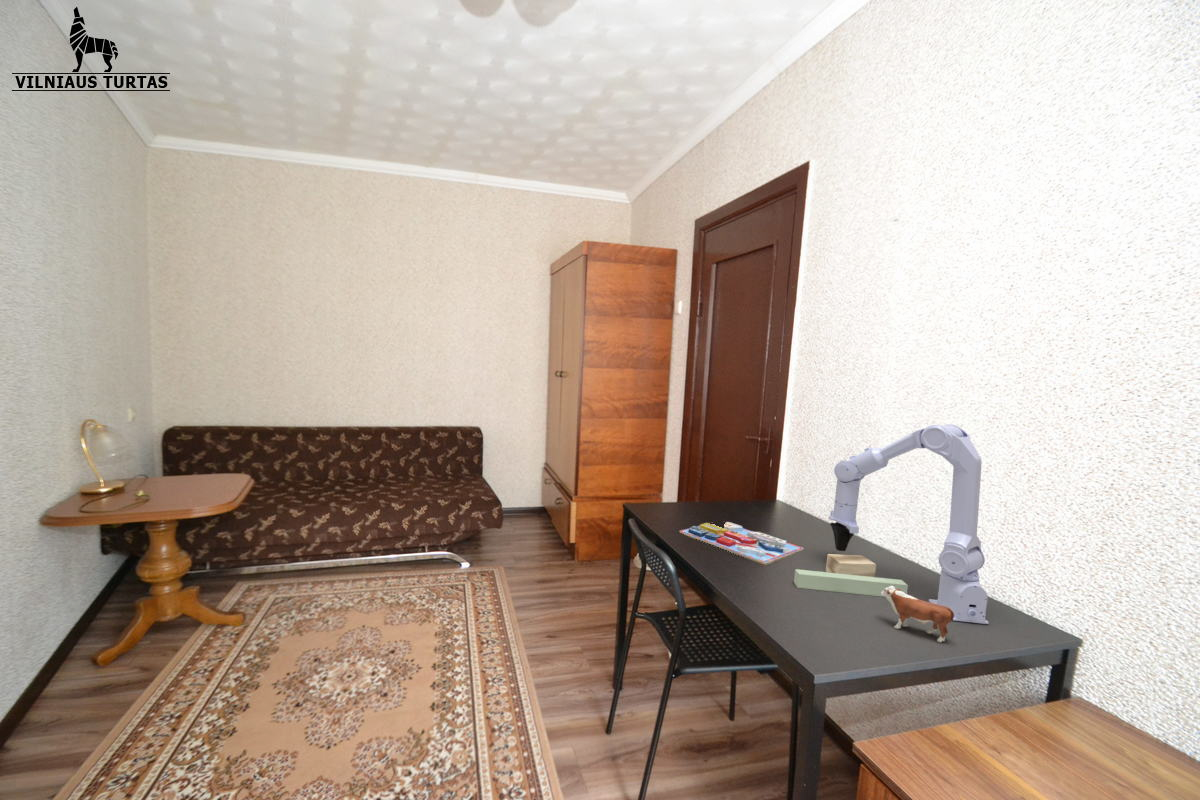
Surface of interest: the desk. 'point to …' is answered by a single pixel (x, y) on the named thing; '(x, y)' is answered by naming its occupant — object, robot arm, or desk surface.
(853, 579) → the pale green block
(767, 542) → the puzzle board
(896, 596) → the bull figurine
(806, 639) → the desk surface
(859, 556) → the beech block
